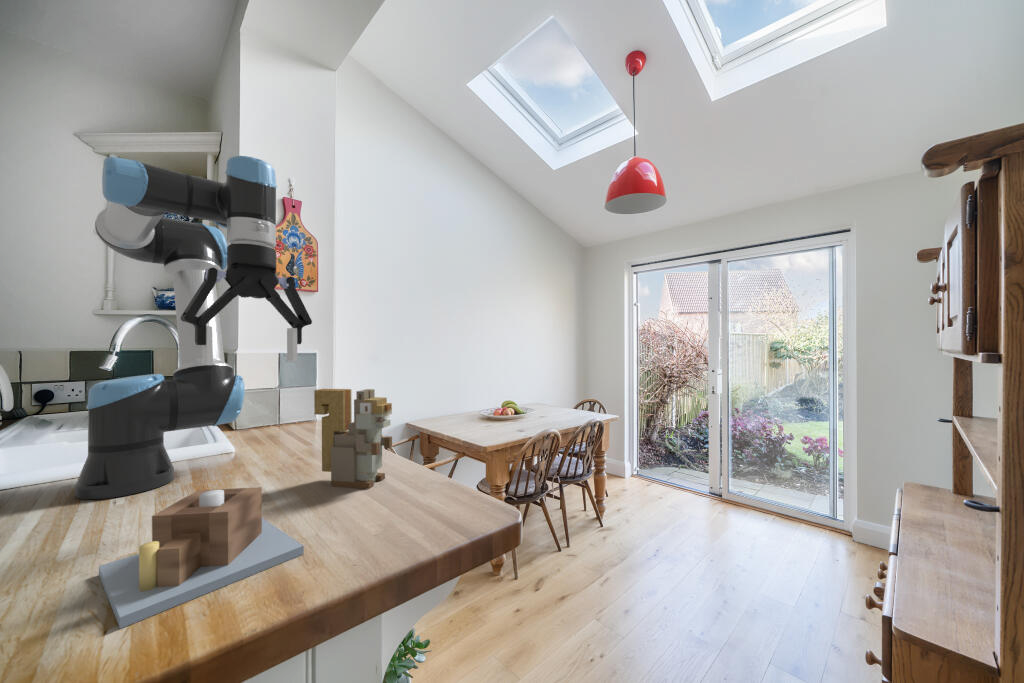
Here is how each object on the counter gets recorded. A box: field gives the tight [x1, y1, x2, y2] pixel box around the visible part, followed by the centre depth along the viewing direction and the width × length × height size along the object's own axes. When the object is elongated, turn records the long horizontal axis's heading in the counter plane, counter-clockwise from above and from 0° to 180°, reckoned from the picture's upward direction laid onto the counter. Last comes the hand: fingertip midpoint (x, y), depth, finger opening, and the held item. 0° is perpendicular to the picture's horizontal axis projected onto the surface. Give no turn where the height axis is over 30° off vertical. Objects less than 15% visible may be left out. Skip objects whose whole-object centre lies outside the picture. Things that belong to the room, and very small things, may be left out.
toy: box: [313, 388, 393, 490], centre depth 87 cm, size 6×17×20 cm, turn 78°
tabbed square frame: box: [151, 486, 263, 587], centre depth 54 cm, size 13×9×7 cm
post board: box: [98, 489, 305, 630], centre depth 55 cm, size 16×19×9 cm
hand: (252, 363), depth 73 cm, fingers open, 13 cm apart
